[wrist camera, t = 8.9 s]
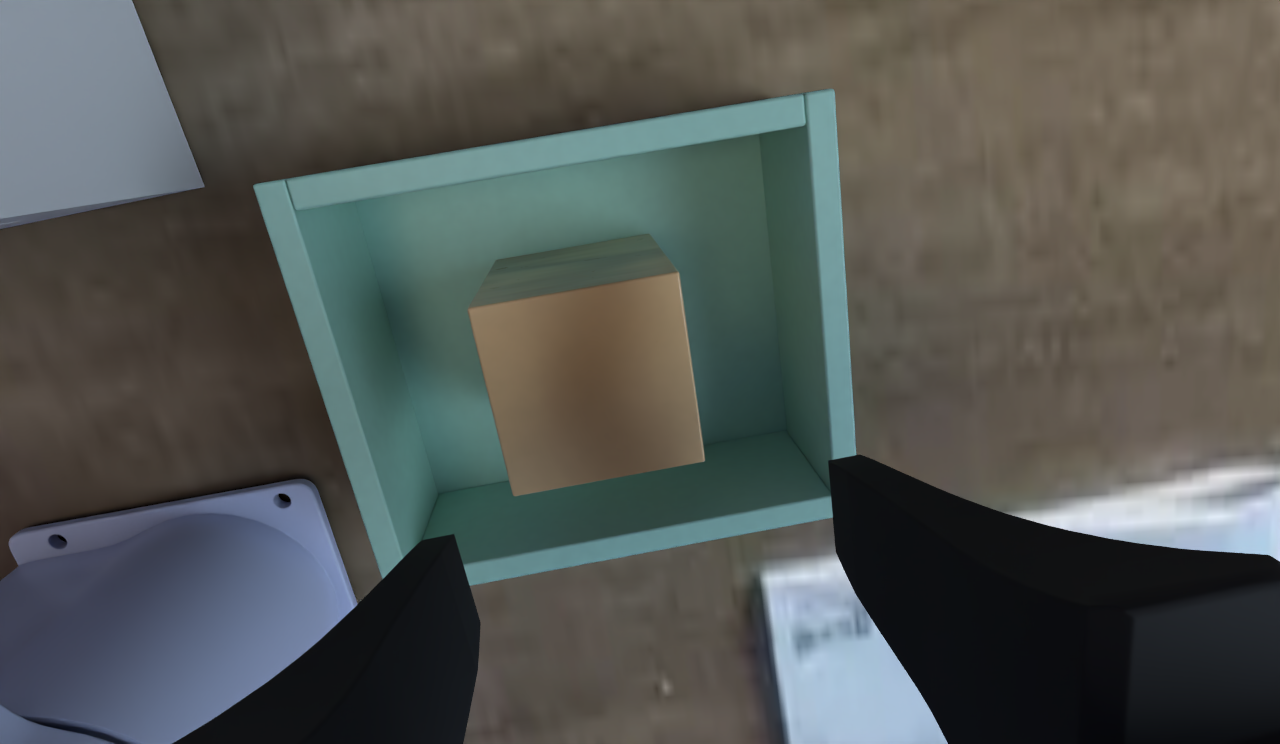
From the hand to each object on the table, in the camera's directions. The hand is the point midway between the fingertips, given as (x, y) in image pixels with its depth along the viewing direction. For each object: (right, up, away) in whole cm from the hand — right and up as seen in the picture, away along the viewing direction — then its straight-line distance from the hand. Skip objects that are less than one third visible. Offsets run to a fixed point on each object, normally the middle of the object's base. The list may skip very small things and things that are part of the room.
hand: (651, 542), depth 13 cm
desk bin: (-2, +5, +9) cm, 10 cm away
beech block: (-2, +5, +8) cm, 10 cm away
